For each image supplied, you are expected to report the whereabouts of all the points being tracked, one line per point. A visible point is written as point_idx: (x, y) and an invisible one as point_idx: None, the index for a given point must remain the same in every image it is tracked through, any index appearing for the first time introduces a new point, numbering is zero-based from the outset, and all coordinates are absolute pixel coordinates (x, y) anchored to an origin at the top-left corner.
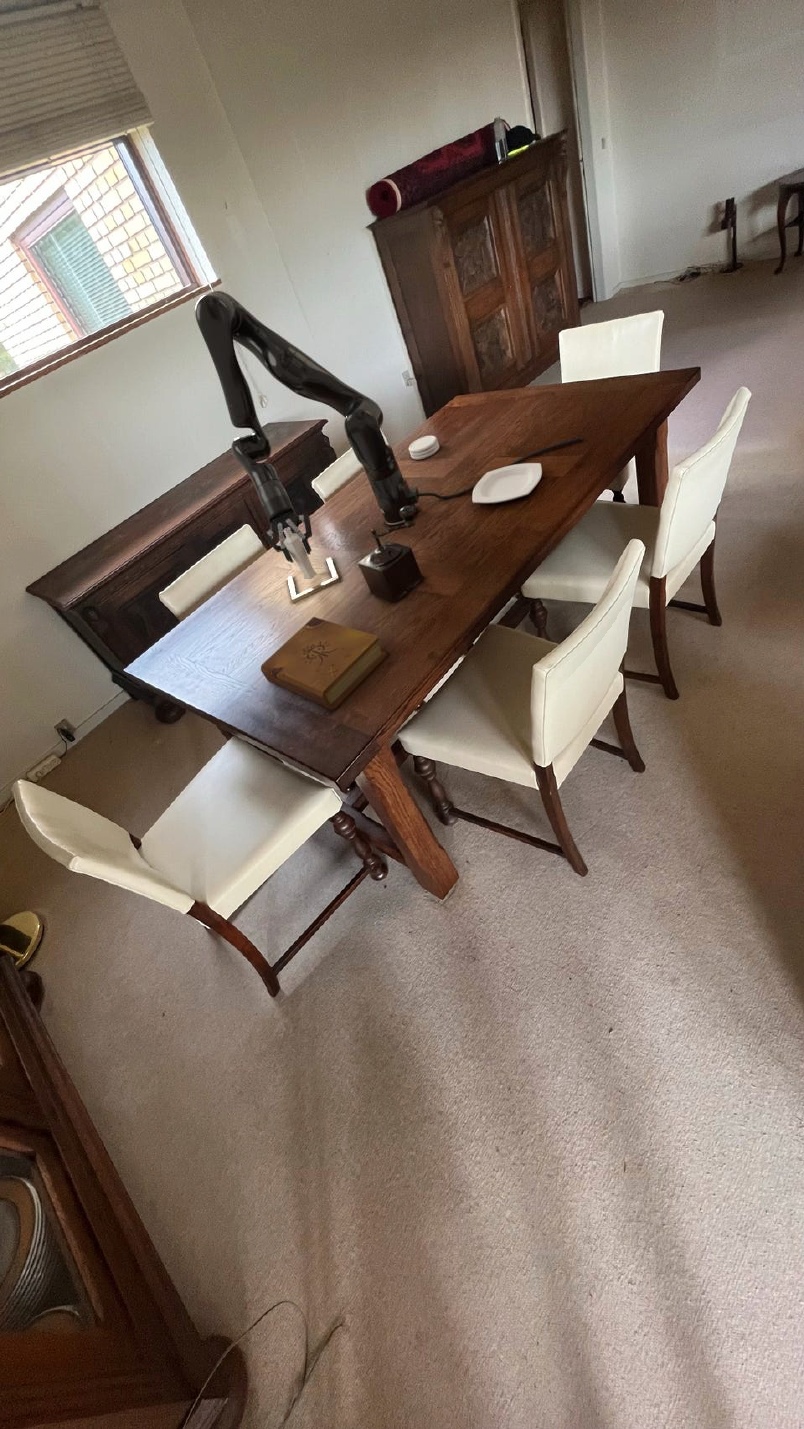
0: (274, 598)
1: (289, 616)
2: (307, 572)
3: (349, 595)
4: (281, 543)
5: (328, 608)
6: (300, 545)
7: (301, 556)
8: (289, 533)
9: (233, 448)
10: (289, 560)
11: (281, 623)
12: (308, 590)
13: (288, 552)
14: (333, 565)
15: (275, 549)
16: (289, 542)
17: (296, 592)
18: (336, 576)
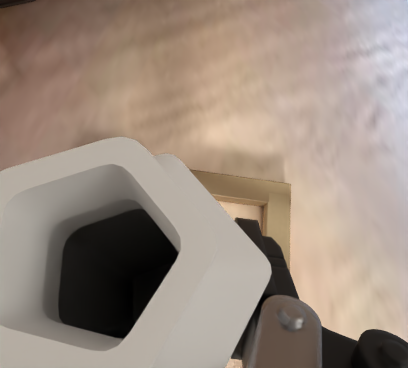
0: (369, 314)
1: (312, 121)
2: (172, 263)
3: (94, 49)
4: (302, 358)
5: (179, 48)
6: (97, 224)
7: (152, 237)
8: (102, 192)
9: None
10: (255, 220)
11: (345, 108)
12: (210, 185)
13: None
14: None
15: (396, 337)
16: (191, 177)
17: None
18: None
